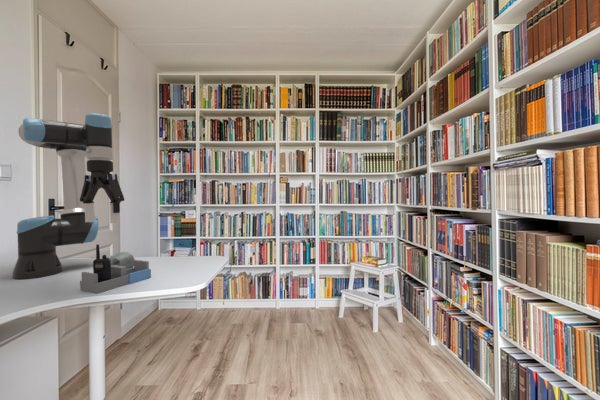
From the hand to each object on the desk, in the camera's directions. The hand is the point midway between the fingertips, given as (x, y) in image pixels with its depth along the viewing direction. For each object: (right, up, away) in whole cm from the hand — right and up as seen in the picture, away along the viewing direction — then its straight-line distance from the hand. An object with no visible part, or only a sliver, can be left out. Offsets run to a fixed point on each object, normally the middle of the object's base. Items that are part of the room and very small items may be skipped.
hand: (102, 222), depth 103 cm
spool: (-6, -22, +19) cm, 30 cm away
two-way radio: (0, -23, +1) cm, 23 cm away
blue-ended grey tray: (+2, -22, +5) cm, 23 cm away
